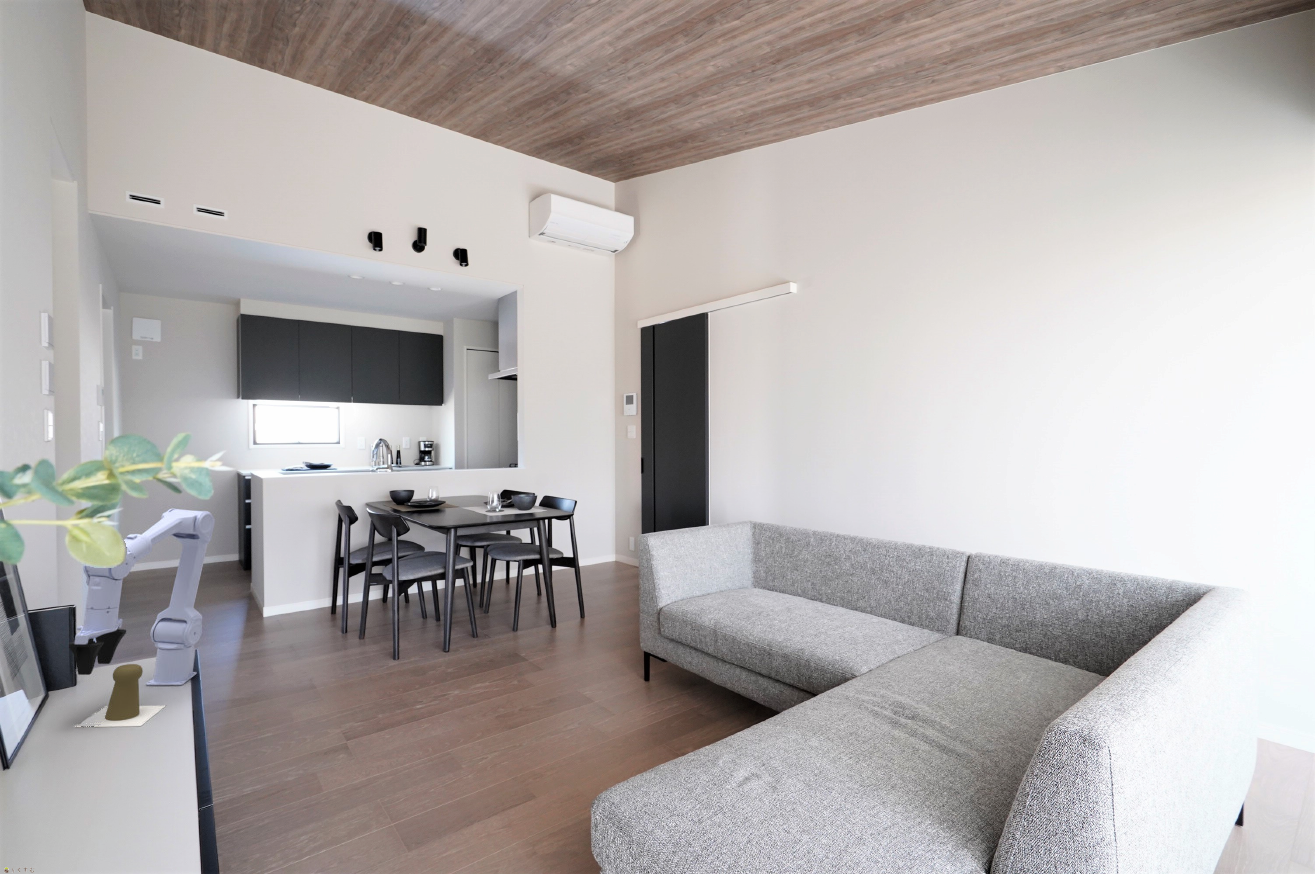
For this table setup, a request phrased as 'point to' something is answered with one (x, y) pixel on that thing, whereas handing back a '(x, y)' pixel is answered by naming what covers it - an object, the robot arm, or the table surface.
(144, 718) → the card
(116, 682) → the olive knobbed shaker
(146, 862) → the table surface
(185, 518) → the robot arm
